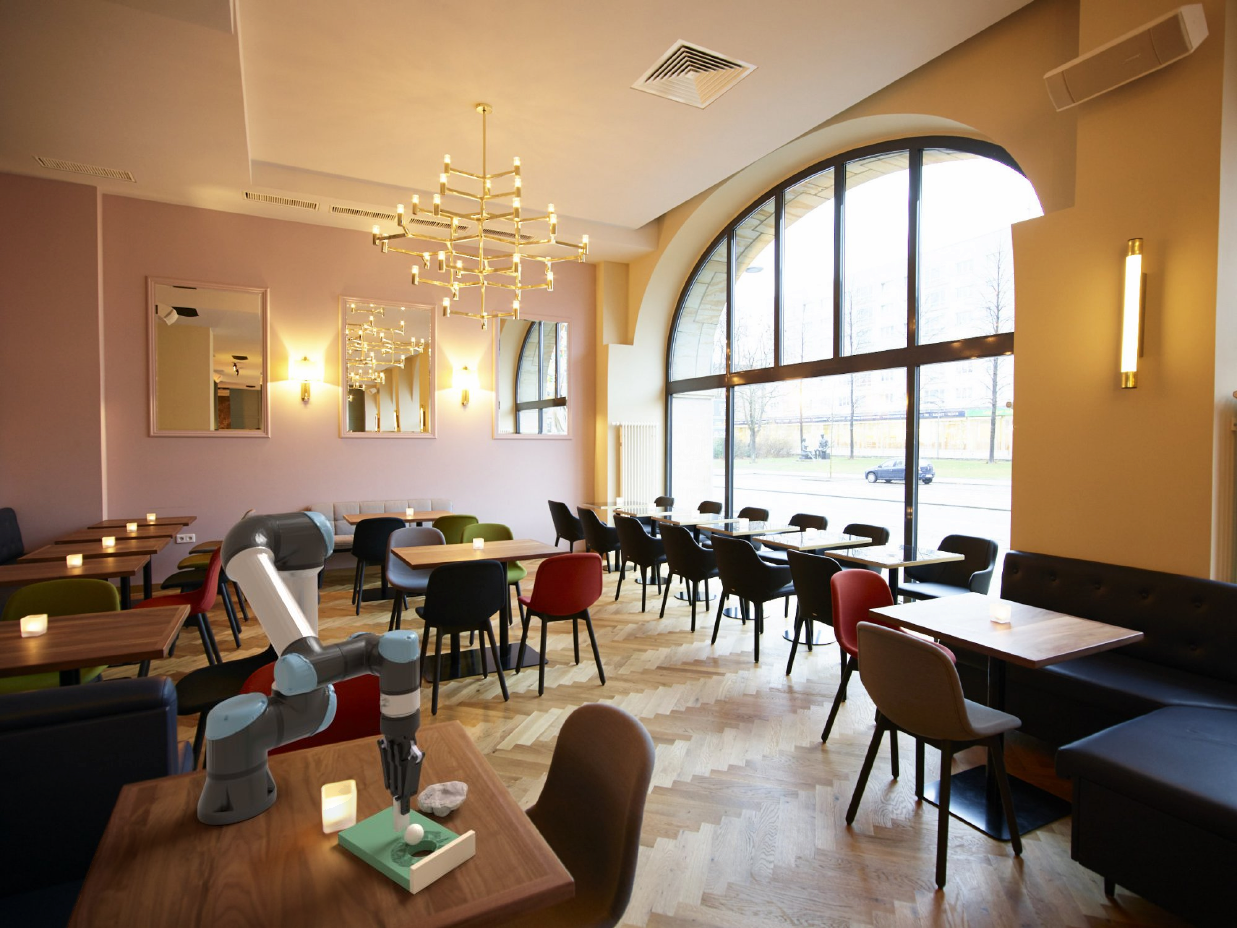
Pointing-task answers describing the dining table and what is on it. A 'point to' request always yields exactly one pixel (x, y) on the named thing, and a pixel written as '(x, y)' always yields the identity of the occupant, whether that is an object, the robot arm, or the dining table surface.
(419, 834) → the ball
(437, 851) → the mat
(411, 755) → the robot arm
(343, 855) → the dining table surface
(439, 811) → the fossil
